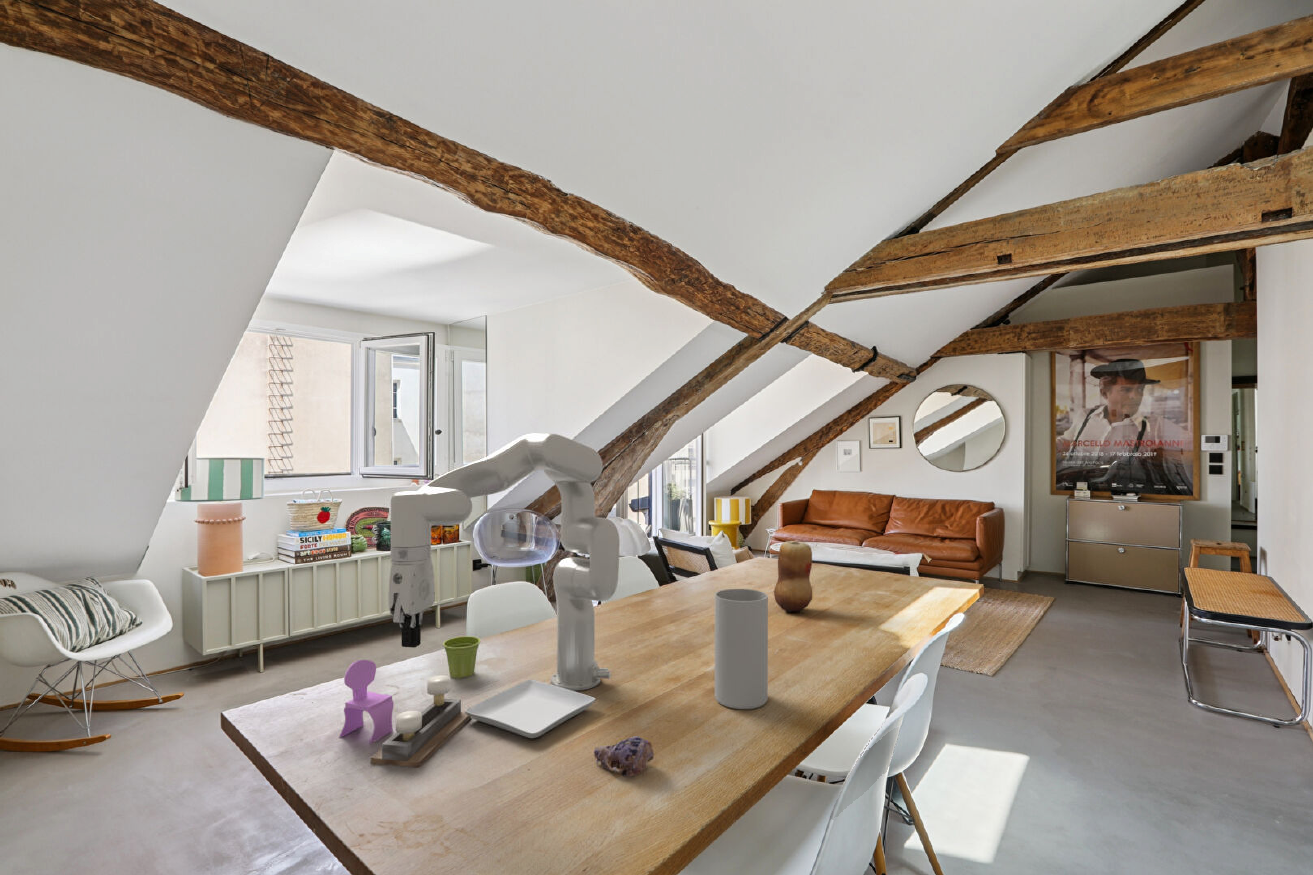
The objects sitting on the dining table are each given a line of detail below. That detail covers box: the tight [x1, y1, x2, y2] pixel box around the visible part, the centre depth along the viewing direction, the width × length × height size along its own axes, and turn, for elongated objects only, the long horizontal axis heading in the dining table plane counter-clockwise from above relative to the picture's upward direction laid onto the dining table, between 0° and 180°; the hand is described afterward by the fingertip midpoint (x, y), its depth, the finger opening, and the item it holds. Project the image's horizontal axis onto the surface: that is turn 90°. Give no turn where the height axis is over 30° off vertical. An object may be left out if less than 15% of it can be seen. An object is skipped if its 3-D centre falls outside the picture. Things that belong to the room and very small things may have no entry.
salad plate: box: [463, 678, 596, 739], centre depth 144 cm, size 21×21×3 cm
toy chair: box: [338, 659, 394, 744], centre depth 135 cm, size 8×9×15 cm
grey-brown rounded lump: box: [593, 736, 655, 778], centre depth 122 cm, size 12×8×6 cm, turn 56°
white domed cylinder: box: [395, 710, 422, 742], centre depth 127 cm, size 5×5×5 cm
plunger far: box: [426, 675, 452, 706], centre depth 139 cm, size 5×5×5 cm
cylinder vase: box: [714, 588, 769, 710], centre depth 153 cm, size 12×12×25 cm
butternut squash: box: [773, 540, 813, 613], centre depth 232 cm, size 14×13×25 cm
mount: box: [370, 698, 471, 768], centre depth 133 cm, size 10×22×4 cm, turn 171°
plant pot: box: [442, 635, 481, 680], centre depth 169 cm, size 9×9×9 cm
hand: (411, 645), depth 128 cm, fingers closed
